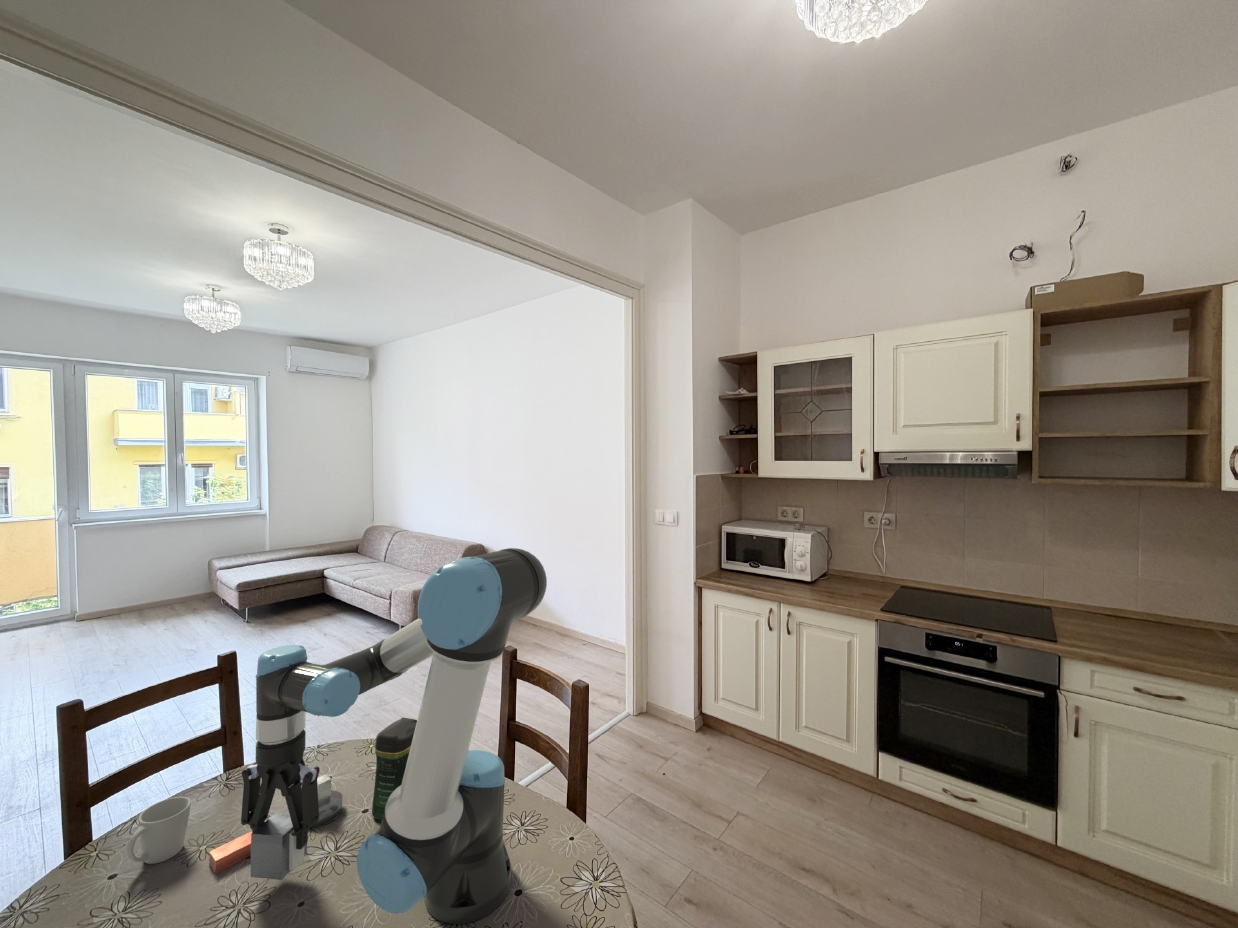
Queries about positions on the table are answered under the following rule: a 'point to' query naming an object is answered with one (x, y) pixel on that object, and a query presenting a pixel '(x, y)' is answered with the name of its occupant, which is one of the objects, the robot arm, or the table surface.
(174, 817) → the cup
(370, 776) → the table surface
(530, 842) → the table surface
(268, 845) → the grey rectangular block
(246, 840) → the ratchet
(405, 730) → the coffee jar
